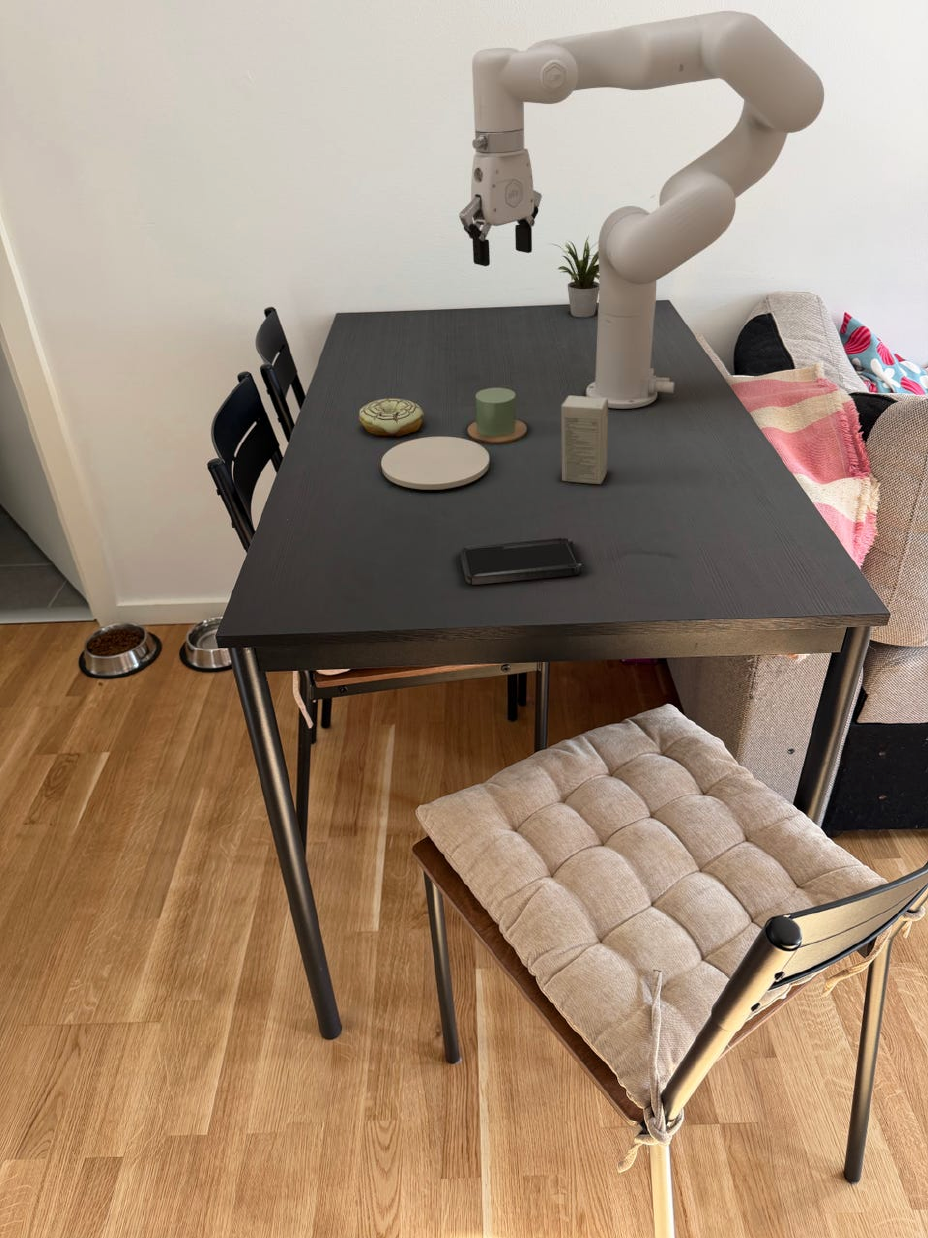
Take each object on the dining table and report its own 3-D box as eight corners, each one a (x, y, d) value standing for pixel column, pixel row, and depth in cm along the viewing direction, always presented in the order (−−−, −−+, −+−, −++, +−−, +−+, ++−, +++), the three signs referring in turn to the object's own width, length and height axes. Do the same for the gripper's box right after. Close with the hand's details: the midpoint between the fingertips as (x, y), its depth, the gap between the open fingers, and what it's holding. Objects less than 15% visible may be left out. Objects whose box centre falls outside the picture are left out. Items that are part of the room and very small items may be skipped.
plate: (503, 451, 153) (503, 442, 152) (469, 499, 140) (468, 489, 139) (406, 440, 158) (405, 431, 157) (364, 485, 145) (363, 476, 144)
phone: (582, 567, 121) (466, 577, 120) (582, 574, 122) (466, 585, 121) (570, 536, 128) (459, 546, 127) (570, 543, 128) (460, 553, 127)
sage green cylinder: (520, 423, 161) (520, 389, 158) (509, 438, 156) (508, 404, 153) (483, 419, 163) (482, 385, 160) (471, 434, 158) (470, 400, 155)
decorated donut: (397, 445, 157) (395, 423, 155) (348, 431, 162) (346, 410, 160) (435, 422, 164) (433, 401, 162) (386, 410, 169) (384, 390, 167)
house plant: (541, 323, 205) (542, 244, 196) (547, 304, 216) (548, 228, 207) (608, 324, 203) (612, 245, 193) (610, 304, 214) (614, 228, 205)
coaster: (533, 422, 162) (533, 420, 162) (516, 446, 155) (517, 444, 154) (478, 416, 165) (478, 414, 165) (459, 439, 158) (459, 437, 157)
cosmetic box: (607, 473, 145) (611, 397, 138) (601, 485, 142) (604, 408, 135) (566, 468, 147) (568, 393, 140) (559, 480, 144) (560, 404, 137)
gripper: (475, 153, 138) (480, 273, 148) (556, 135, 148) (555, 250, 157) (441, 149, 143) (448, 266, 153) (521, 132, 152) (523, 243, 162)
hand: (503, 257), depth 155 cm, fingers open, 9 cm apart
